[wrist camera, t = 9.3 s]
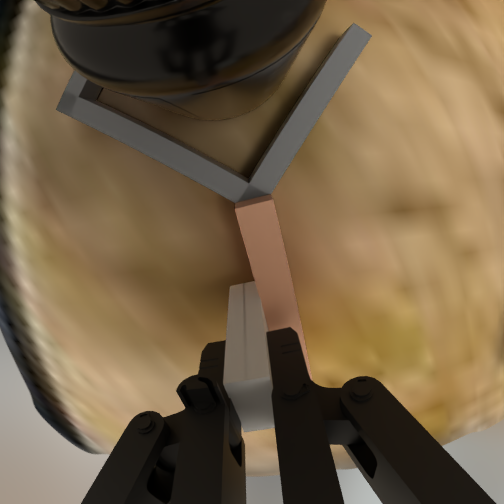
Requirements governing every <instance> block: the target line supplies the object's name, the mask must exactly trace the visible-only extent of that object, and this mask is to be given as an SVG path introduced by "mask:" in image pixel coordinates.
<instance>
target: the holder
mask: <svg viewBox="0 0 504 504" xmlns="http://www.w3.org/2000/svg"><path fill="white" fill-rule="evenodd" d="M371 37H372V35H370V34H369V33H368V32H366V31H365V30H363V29H362V28H361V27H359V26H358V25H356V24H355V23H353V24H352V25H351V26H350V27H349V28H348V29H347V30H346V31H345V32H344V33H343V34H342V35H341V37H340V38H339V39H338V41H337V42H336V44H335V45H334V47H333V48H332V50H331V51H330V52H329V54H328V55H327V57H326V58H325V60H324V61H323V63H322V64H321V66H320V67H319V69H318V70H317V72H316V73H315V75H314V76H313V78H312V79H311V81H310V82H309V84H308V85H307V87H306V88H305V90H304V91H303V93H302V94H301V96H300V97H299V99H298V100H297V102H296V104H295V105H294V107H293V108H292V110H291V111H290V113H289V114H288V116H287V118H286V119H285V121H284V122H283V124H282V125H281V127H280V129H279V130H278V132H277V133H276V135H275V137H274V138H273V140H272V141H271V143H270V145H269V146H268V148H267V149H266V151H265V153H264V154H263V156H262V158H261V159H260V161H259V162H258V164H257V166H256V167H255V169H254V171H253V172H252V174H251V176H250V177H249V179H248V178H247V177H245V176H243V175H241V174H239V173H238V172H236V171H234V170H232V169H231V168H229V167H227V166H225V165H223V164H222V163H220V162H218V161H216V160H214V159H213V158H211V157H209V156H207V155H205V154H203V153H201V152H200V151H198V150H196V149H194V148H192V147H190V146H188V145H186V144H184V143H183V142H181V141H179V140H177V139H175V138H173V137H171V136H169V135H167V134H165V133H163V132H161V131H159V130H157V129H155V128H153V127H151V126H149V125H147V124H145V123H143V122H141V121H139V120H137V119H135V118H133V117H131V116H129V115H126V114H124V113H122V112H120V111H118V110H116V109H114V108H111V107H109V106H107V105H105V104H103V103H101V102H98V101H96V99H97V97H98V95H99V93H100V91H101V89H102V87H101V86H99V85H97V84H95V83H93V82H91V81H89V80H87V79H86V78H84V77H82V76H81V75H80V74H79V73H78V72H76V71H74V72H73V74H72V76H71V78H70V80H69V82H68V84H67V86H66V89H65V91H64V93H63V95H62V97H61V99H60V102H59V104H58V106H57V108H56V110H57V111H59V112H61V113H63V114H66V115H68V116H70V117H72V118H74V119H76V120H78V121H80V122H82V123H84V124H86V125H88V126H90V127H92V128H94V129H96V130H98V131H100V132H102V133H104V134H106V135H108V136H110V137H112V138H114V139H116V140H118V141H120V142H122V143H124V144H126V145H128V146H130V147H132V148H134V149H136V150H138V151H140V152H141V153H143V154H145V155H147V156H149V157H151V158H153V159H155V160H157V161H159V162H161V163H162V164H164V165H166V166H168V167H170V168H172V169H174V170H176V171H177V172H179V173H181V174H183V175H185V176H187V177H189V178H190V179H192V180H194V181H196V182H198V183H200V184H201V185H203V186H205V187H207V188H209V189H211V190H212V191H214V192H216V193H218V194H220V195H221V196H223V197H225V198H227V199H229V200H230V201H232V202H234V203H235V212H236V216H237V219H238V223H239V227H240V230H241V234H242V237H243V241H244V244H245V248H246V252H247V255H248V259H249V262H250V266H251V269H252V273H253V276H254V280H255V283H256V287H257V291H258V294H259V297H260V298H261V303H262V307H263V311H264V315H265V319H266V322H267V326H268V329H269V331H273V330H278V329H283V328H287V327H291V328H292V329H293V330H295V331H296V332H297V333H298V337H299V340H300V344H301V347H302V351H303V355H304V358H305V362H306V366H307V369H308V373H309V376H310V378H311V380H312V376H311V370H310V365H309V360H308V355H307V350H306V345H305V340H304V335H303V330H302V325H301V320H300V316H299V311H298V306H297V301H296V297H295V292H294V288H293V283H292V278H291V274H290V269H289V265H288V260H287V256H286V252H285V247H284V243H283V239H282V234H281V230H280V226H279V222H278V217H277V213H276V209H275V205H274V201H273V198H272V196H271V193H272V192H273V190H274V188H275V187H276V185H277V184H278V182H279V180H280V179H281V177H282V176H283V174H284V172H285V171H286V169H287V168H288V166H289V164H290V163H291V161H292V160H293V158H294V156H295V155H296V153H297V152H298V150H299V149H300V147H301V145H302V144H303V142H304V141H305V139H306V137H307V136H308V134H309V133H310V131H311V130H312V128H313V126H314V125H315V123H316V122H317V120H318V119H319V117H320V115H321V114H322V112H323V111H324V109H325V108H326V106H327V104H328V103H329V101H330V100H331V98H332V97H333V95H334V93H335V92H336V90H337V89H338V87H339V86H340V84H341V83H342V81H343V80H344V78H345V76H346V75H347V73H348V72H349V70H350V69H351V67H352V66H353V64H354V63H355V61H356V59H357V58H358V56H359V55H360V53H361V52H362V50H363V49H364V47H365V46H366V44H367V43H368V41H369V40H370V38H371Z"/></svg>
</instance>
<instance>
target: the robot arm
mask: <svg viewBox="0 0 504 504" xmlns="http://www.w3.org/2000/svg"><path fill="white" fill-rule="evenodd" d="M200 361H201V362H200V366H199V369H200V370H199V372H198V375H194V376H190V377H189V378H187V379H185V380H183V381H182V382H181V383H180V384H179V386H178V388H177V390H176V392H177V393H178V395H179V397H180V399H181V401H182V402H183V404H184V406H185V409H184V410H183V411H181V412H178V413H176V414H173V415H170V416H167V417H162V416H161V415H160V414H159V413H157V412H154V411H146V412H142V413H140V414H138V415H136V416H135V417H134V418H133V419H132V420H131V421H130V423H129V424H128V426H127V428H126V429H125V431H124V432H123V434H122V436H121V437H120V439H119V441H118V442H117V444H116V446H115V447H114V449H113V451H112V452H111V454H110V456H109V458H108V459H107V461H106V462H105V464H104V466H103V467H102V469H101V471H100V472H99V474H98V476H97V477H96V479H95V481H94V483H93V484H92V486H91V488H90V489H89V491H88V493H87V494H86V496H85V498H84V499H83V501H82V503H81V504H246V473H245V444H244V440H243V438H242V436H241V426H242V428H243V430H244V432H250V431H257V430H264V429H270V428H275V433H276V442H277V451H278V460H279V468H280V477H281V486H282V495H283V503H284V504H344V500H343V496H342V492H341V488H340V484H339V480H338V476H337V472H336V468H335V464H334V460H333V456H332V452H331V449H330V445H329V444H334V445H343V447H344V448H345V450H346V451H347V453H348V454H349V456H350V457H351V459H352V460H353V462H354V463H355V464H356V466H357V467H358V469H359V470H360V472H361V473H362V475H363V476H364V478H365V479H366V480H367V482H368V483H369V485H370V486H371V487H372V489H373V491H374V492H375V493H376V495H377V496H378V498H379V499H380V501H381V502H382V503H383V504H496V503H495V502H494V501H493V500H492V499H491V498H490V497H489V496H488V494H487V493H486V492H485V491H484V490H483V489H482V488H481V487H480V486H479V485H478V484H477V483H476V482H475V481H474V480H473V479H472V478H471V477H470V475H469V474H468V473H467V472H466V471H465V470H464V469H463V468H462V467H461V466H460V465H459V464H458V463H457V462H456V461H455V460H454V459H453V458H452V457H451V456H450V454H449V453H448V452H447V451H445V450H444V448H443V447H442V446H441V445H440V444H439V443H438V442H437V441H436V440H435V439H434V438H433V437H432V436H431V435H430V434H429V432H428V431H427V430H426V429H425V428H424V427H423V426H422V425H421V424H420V423H419V422H418V421H417V420H416V419H415V418H414V417H413V416H412V415H411V414H410V413H409V412H408V411H407V409H406V408H405V407H404V406H403V405H402V404H401V403H400V402H399V401H398V400H397V399H396V398H395V397H394V396H393V395H392V394H391V393H390V392H389V391H388V390H387V389H386V388H385V387H384V385H383V384H382V383H381V382H379V381H378V380H376V379H375V378H372V377H368V376H360V377H356V378H353V379H350V380H349V381H347V382H346V383H345V384H344V385H343V387H342V388H326V387H322V386H319V385H317V384H315V383H314V382H313V381H312V380H311V378H310V376H309V373H308V369H307V366H306V362H305V358H304V355H303V351H302V347H301V344H300V340H299V337H298V333H297V332H296V331H295V330H293V329H292V328H291V327H287V328H283V329H278V330H273V331H269V329H268V326H267V322H266V319H265V315H264V311H263V307H262V303H261V298H260V297H259V294H258V291H257V287H256V283H255V281H252V282H247V283H242V284H237V285H233V286H230V291H229V304H228V318H227V332H226V340H225V341H219V342H213V343H208V344H207V345H206V347H205V348H204V350H203V351H202V354H201V360H200Z"/></svg>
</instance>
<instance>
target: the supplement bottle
mask: <svg viewBox="0 0 504 504" xmlns="http://www.w3.org/2000/svg"><path fill="white" fill-rule="evenodd" d="M34 1H36V3H37V4H38V5H39V6H40V8H42V9H43V10H44V11H46V12H47V13H49V14H50V16H51V27H52V32H53V36H54V39H55V42H56V44H57V47H58V49H59V51H60V53H61V54H62V56H63V57H64V59H65V60H66V62H67V63H68V64H69V65H70V66H71V67H72V68H73V69H74V70H75V71H76V72H78V73H79V74H80V75H81V76H82V77H84V78H86V79H87V80H89V81H91V82H93V83H95V84H97V85H99V86H101V87H104V88H106V89H108V90H111V91H114V92H117V93H120V94H123V95H126V96H129V97H132V98H135V99H138V100H141V101H144V102H147V103H150V104H153V105H156V106H158V107H161V108H164V109H167V110H169V111H172V112H175V113H178V114H180V115H183V116H187V117H190V118H195V119H200V120H223V119H229V118H233V117H237V116H240V115H243V114H245V113H247V112H250V111H251V110H253V109H255V108H257V107H258V106H260V105H261V104H263V103H264V102H265V101H266V100H268V99H269V98H270V97H271V96H272V95H273V94H274V93H275V91H276V90H277V89H278V88H279V86H280V85H281V83H282V82H283V80H284V79H285V77H286V75H287V73H288V71H289V70H290V68H291V66H292V64H293V62H294V61H295V59H296V57H297V55H298V54H299V52H300V50H301V48H302V47H303V45H304V43H305V41H306V40H307V38H308V36H309V34H310V33H311V31H312V29H313V28H314V26H315V24H316V23H317V21H318V19H319V17H320V15H321V13H322V11H323V8H324V6H325V3H326V1H327V0H34Z"/></svg>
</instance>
